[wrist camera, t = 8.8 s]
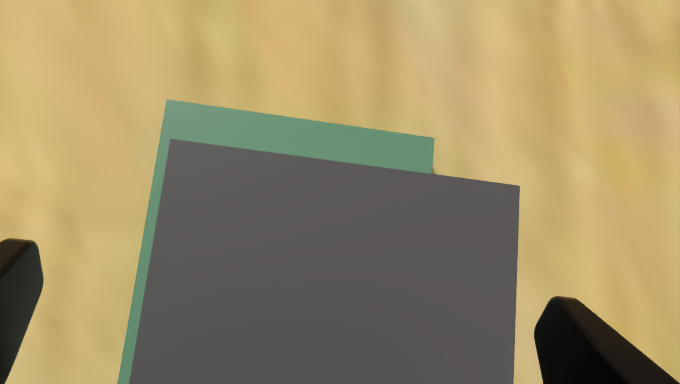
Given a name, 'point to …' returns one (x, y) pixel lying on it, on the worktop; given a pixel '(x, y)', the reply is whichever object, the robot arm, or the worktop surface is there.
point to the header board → (268, 137)
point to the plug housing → (326, 274)
